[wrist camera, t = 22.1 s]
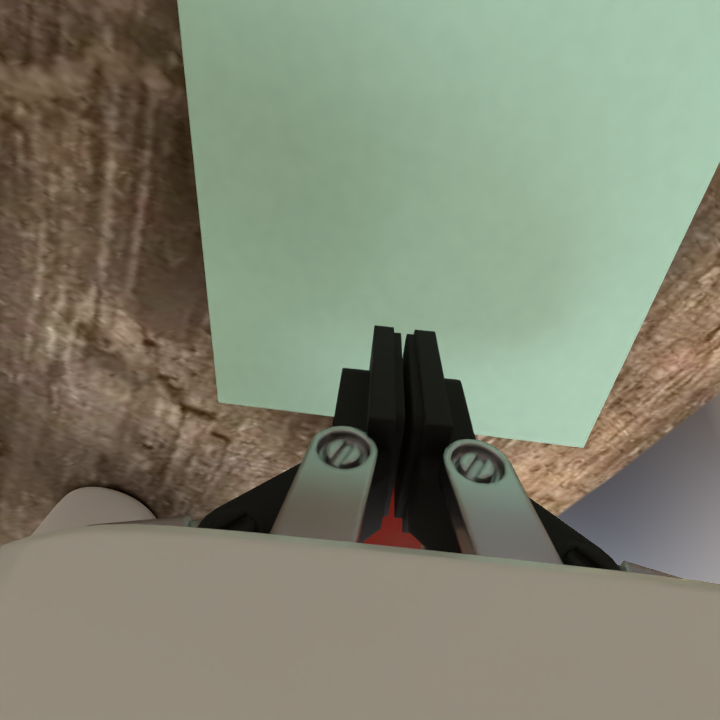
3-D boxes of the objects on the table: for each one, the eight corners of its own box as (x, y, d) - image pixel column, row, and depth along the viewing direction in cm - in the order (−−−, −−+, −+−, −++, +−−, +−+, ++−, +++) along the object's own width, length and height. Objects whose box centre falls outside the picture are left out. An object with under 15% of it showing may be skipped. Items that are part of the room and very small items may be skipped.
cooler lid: (576, 435, 19) (583, 448, 18) (224, 392, 19) (217, 403, 18) (849, -159, 10) (883, -179, 9) (168, -216, 10) (151, -240, 9)
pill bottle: (137, 559, 37) (0, 800, 25) (49, 514, 35) (-153, 755, 22) (181, 520, 34) (47, 777, 21) (86, 467, 31) (-130, 721, 19)
